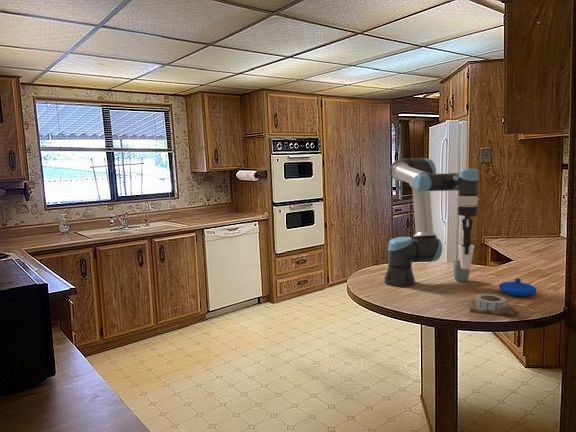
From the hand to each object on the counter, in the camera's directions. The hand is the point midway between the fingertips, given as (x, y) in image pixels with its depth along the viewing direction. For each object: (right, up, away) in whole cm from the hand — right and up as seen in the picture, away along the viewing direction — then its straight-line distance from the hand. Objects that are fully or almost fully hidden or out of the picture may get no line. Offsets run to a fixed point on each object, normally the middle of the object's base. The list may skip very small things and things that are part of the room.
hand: (466, 259), depth 185 cm
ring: (+10, -19, -1) cm, 22 cm away
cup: (+14, -15, +42) cm, 47 cm away
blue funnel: (+32, -18, +20) cm, 42 cm away
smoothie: (0, -4, 0) cm, 4 cm away
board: (+10, -21, -1) cm, 23 cm away
